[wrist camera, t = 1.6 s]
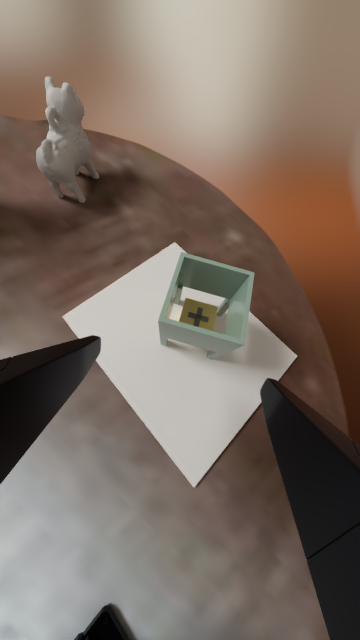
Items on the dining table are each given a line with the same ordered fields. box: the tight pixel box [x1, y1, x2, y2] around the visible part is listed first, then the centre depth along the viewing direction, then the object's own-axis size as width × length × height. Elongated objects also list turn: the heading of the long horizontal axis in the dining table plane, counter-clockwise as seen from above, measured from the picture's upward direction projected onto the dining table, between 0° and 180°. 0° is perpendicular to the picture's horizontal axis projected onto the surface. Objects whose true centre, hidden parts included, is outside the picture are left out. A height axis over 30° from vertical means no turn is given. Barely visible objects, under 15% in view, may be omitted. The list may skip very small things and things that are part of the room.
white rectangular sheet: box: [62, 242, 297, 487], centre depth 23 cm, size 25×20×1 cm
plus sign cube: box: [179, 298, 218, 331], centre depth 21 cm, size 4×4×4 cm
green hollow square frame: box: [158, 252, 254, 359], centre depth 19 cm, size 7×7×10 cm
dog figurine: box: [36, 77, 99, 203], centre depth 27 cm, size 5×13×11 cm, turn 171°
